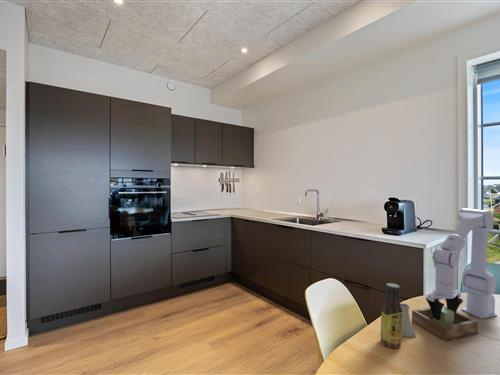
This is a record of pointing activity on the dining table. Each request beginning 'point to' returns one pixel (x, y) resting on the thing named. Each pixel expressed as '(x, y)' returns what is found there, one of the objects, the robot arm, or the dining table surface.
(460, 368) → the dining table surface
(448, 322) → the green block
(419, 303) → the dining table surface
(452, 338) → the walnut crate
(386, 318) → the sauce bottle
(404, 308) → the flask
